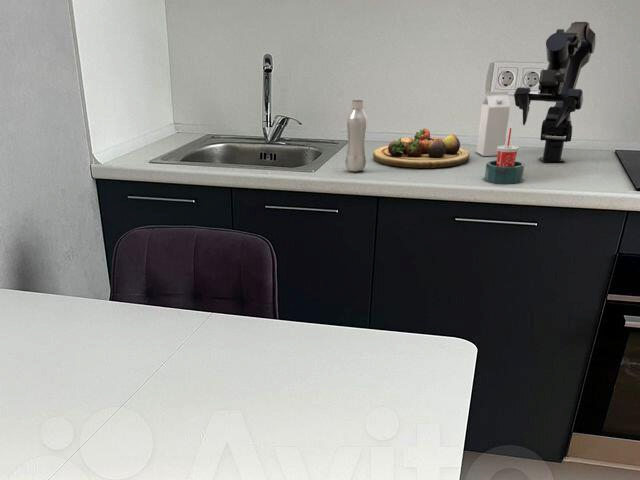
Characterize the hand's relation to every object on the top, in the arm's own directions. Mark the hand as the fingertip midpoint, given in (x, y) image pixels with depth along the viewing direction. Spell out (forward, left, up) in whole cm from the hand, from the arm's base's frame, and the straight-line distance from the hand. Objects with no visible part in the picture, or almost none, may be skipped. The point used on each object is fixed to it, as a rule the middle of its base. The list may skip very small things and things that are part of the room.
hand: (539, 125), depth 211 cm
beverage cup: (+3, -9, -14) cm, 17 cm away
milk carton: (-36, -7, -14) cm, 40 cm away
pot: (+3, -9, -14) cm, 17 cm away
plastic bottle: (-10, -53, -14) cm, 56 cm away
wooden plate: (-28, -31, -14) cm, 44 cm away
